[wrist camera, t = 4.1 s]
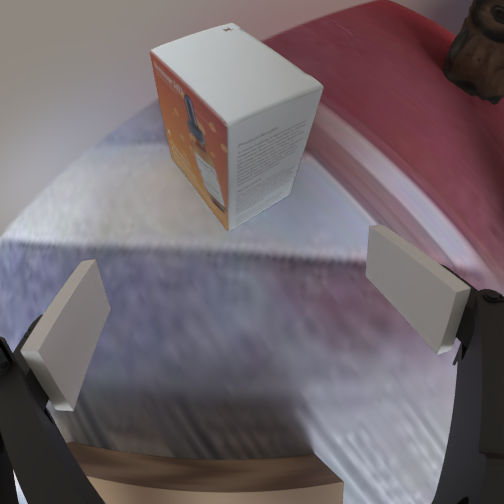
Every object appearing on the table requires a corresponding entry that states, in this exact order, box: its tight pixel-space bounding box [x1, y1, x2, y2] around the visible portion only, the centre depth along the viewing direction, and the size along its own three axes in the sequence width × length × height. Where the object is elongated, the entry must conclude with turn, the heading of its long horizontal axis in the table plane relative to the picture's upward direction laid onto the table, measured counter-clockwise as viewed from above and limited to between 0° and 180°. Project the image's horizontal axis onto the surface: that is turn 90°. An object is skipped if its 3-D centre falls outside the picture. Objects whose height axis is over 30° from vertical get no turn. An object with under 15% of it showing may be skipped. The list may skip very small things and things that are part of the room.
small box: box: [150, 23, 323, 232], centre depth 18 cm, size 8×6×10 cm
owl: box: [443, 0, 504, 104], centre depth 23 cm, size 13×13×20 cm
